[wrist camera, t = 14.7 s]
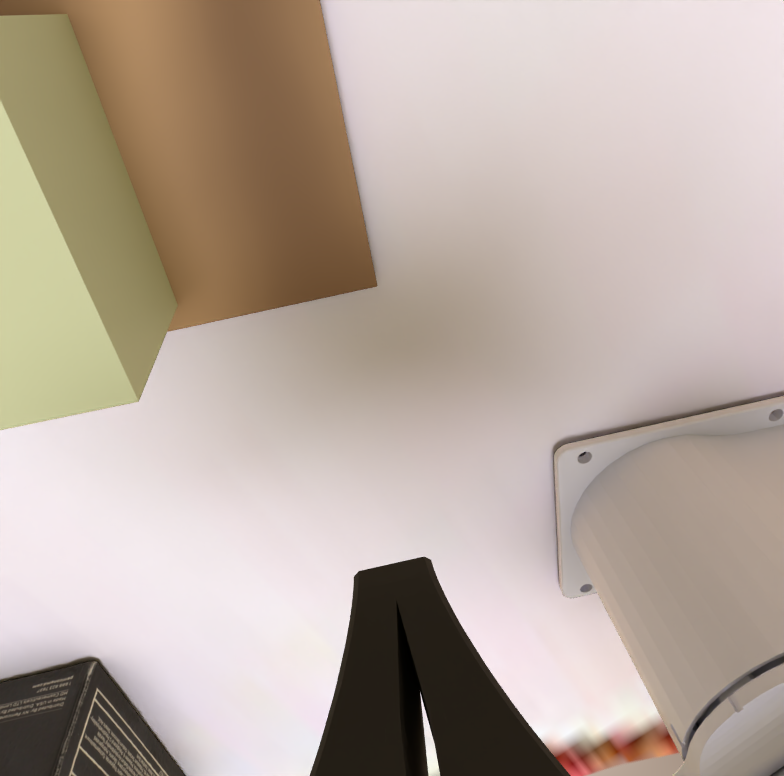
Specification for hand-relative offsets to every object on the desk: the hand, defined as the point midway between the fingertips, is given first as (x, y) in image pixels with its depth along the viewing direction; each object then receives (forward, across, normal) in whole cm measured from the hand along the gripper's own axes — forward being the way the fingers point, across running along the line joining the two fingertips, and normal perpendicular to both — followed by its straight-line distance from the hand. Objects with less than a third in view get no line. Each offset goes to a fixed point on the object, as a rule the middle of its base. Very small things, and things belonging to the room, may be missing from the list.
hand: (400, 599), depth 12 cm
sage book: (+9, +6, -7) cm, 13 cm away
